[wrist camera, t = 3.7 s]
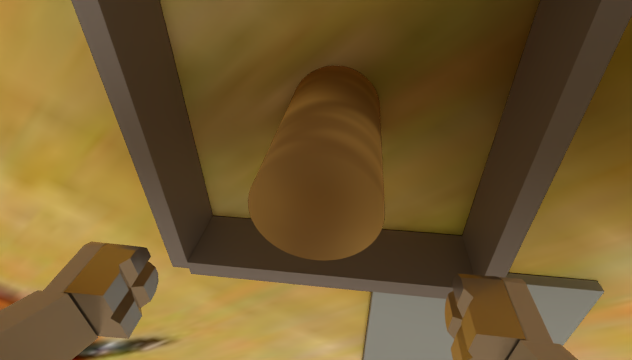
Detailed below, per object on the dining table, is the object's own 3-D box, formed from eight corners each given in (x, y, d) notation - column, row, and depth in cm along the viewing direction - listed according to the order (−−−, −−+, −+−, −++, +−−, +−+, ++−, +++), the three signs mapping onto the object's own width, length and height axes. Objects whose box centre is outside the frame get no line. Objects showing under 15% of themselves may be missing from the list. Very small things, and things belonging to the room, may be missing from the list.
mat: (597, 281, 22) (604, 291, 22) (523, 383, 30) (526, 393, 30) (375, 261, 24) (376, 270, 23) (362, 363, 32) (361, 372, 31)
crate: (618, -137, 11) (716, -162, 8) (475, 248, 22) (492, 303, 19) (104, -121, 13) (19, -136, 10) (201, 225, 24) (175, 272, 21)
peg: (384, 66, 16) (392, 160, 10) (375, 149, 19) (378, 265, 12) (290, 64, 17) (239, 151, 10) (294, 144, 19) (255, 254, 13)
